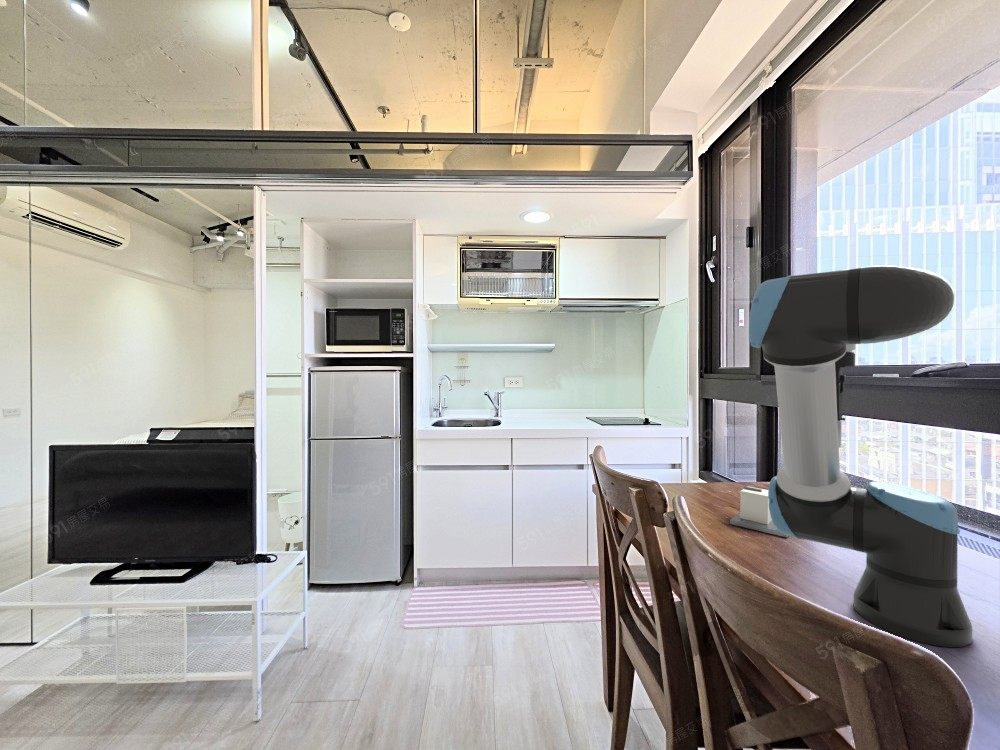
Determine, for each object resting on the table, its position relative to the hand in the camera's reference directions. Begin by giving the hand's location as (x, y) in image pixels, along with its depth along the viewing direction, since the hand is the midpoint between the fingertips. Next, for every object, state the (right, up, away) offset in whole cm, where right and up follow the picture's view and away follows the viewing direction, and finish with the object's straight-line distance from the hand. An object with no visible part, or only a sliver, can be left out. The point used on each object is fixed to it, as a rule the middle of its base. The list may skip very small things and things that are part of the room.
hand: (834, 446), depth 105 cm
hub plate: (-6, -25, +18) cm, 32 cm away
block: (-8, -24, +19) cm, 32 cm away
